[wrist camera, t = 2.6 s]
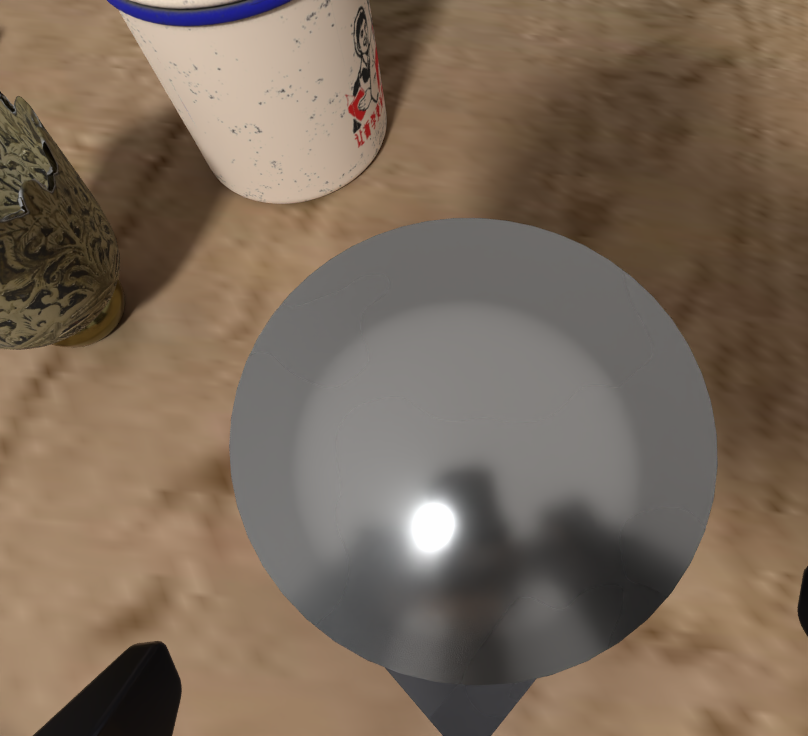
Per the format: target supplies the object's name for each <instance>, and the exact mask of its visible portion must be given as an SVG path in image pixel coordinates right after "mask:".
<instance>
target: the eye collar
mask: <svg viewBox="0 0 808 736" xmlns="http://www.w3.org/2000/svg"><path fill="white" fill-rule="evenodd" d="M385 668H386V667H385ZM386 669H387V671H388V672H389V673H390V674H391V675H392V676H393V678H394V679H395V680H396V681H397V682H398V683H399V685H400V686H401V687H402V688H403V689H404V691H405V692H406V693H407V694H408V695H409V696H410V698H411V699H412V700H413V701H414V702H415V703H416V705H417V706H418V707H419V708H420V709H421V710H422V712H423V713H424V714H425V715H426V716H427V718H428V719H429V720H430V721H431V722H432V723H433V725H434V726H435V727H436V728H437V729H438V730H439V732H440V733H441V734H442V735H443V736H491V735H492V734H493V732H494V731H495V730H496V729H497V727H498V726H499V725H500V724H501V722H502V721H503V720H504V719H505V717H506V716H507V715H508V714H509V712H510V711H511V710H512V709H513V707H514V706H515V705H516V704H517V702H518V701H519V700H520V699H521V697H522V696H523V695H524V694H525V692H526V691H527V690H528V689H529V687H530V686H531V685H532V684H533V682H534V681H535V680H536V679H537V678H536V679H531V680H526V681H522V682H517V683H510V684H494V685H479V686H474V685H462V684H451V683H439V682H434V681H430V680H426V679H421V678H417V677H413V676H409V675H405V674H401V673H398V672H396V671H393V670H391V669H388V668H386Z"/></svg>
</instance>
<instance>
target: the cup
mask: <svg viewBox="0 0 808 736" xmlns="http://www.w3.org/2000/svg"><path fill="white" fill-rule="evenodd" d="M119 270H120V256H119V250H118V245H117V241H116V238H115V235H114V232H113V230H112V228H111V226H110V224H109V222H108V220H107V218H106V217H105V215H104V213H103V211H102V210H101V208H100V206H99V205H98V203H97V201H96V200H95V198H94V197H93V195H92V194H91V192H90V191H89V189H88V188H87V187H86V185H85V184H84V182H83V181H82V179H81V178H80V177H79V175H78V174H77V172H76V171H75V169H74V168H73V167H72V165H71V164H70V162H69V161H68V160H67V158H66V157H65V155H64V154H63V153H62V151H61V150H60V148H59V147H58V146H57V144H56V143H55V141H54V140H53V139H52V137H51V136H50V135H49V133H48V132H47V130H46V129H45V128H44V126H43V125H42V123H41V122H40V120H39V119H38V117H37V115H36V114H35V112H34V111H33V109H32V108H31V106H30V105H29V104H28V103H27V102H26V101H25V100H24V99H23V98H22V97H20V96H17V97H16V99H15V103H14V106H13V105H12V104H11V103H10V102H9V100H8V99H7V98H6V97H5V96H4V95H3V94H2V93H1V92H0V349H19V350H21V349H31V348H38V347H43V346H47V345H51V344H52V345H55V346H61V347H72V348H76V347H83V346H87V345H90V344H93V343H95V342H97V341H99V340H101V339H103V338H104V337H105V336H107V335H108V334H109V333H110V332H111V331H112V330H113V329H114V328H115V327H116V325H117V324H118V323H119V321H120V319H121V317H122V315H123V312H124V307H125V297H124V292H123V289H122V286H121V283H120V281H119V280H118V277H119Z"/></svg>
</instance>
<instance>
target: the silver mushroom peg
mask: <svg viewBox="0 0 808 736" xmlns="http://www.w3.org/2000/svg"><path fill="white" fill-rule="evenodd" d="M229 448H230V463H231V477H232V482H233V487H234V492H235V497H236V502H237V507H238V510H239V512H240V515H241V518H242V521H243V524H244V527H245V530H246V532H247V535H248V538H249V540H250V542H251V544H252V545H253V547H254V549H255V551H256V553H257V555H258V557H259V559H260V561H261V563H262V565H263V567H264V568H265V569H266V571H267V572H268V574H269V575H270V577H271V578H272V579H273V581H274V582H275V584H276V585H277V586H278V588H279V589H280V591H281V592H282V593H283V595H284V596H285V597H286V598H287V599H288V600H289V601H290V602H291V603H292V604H293V605H294V606H295V607H296V608H297V609H298V610H299V612H300V613H301V614H302V615H303V616H304V617H305V618H306V619H307V620H308V621H310V622H311V623H312V624H313V625H315V626H316V627H317V628H319V629H320V630H321V631H322V632H324V633H325V634H326V635H327V636H329V637H330V638H331V639H332V640H334V641H335V642H337V643H338V644H340V645H342V646H344V647H345V648H347V649H349V650H350V651H352V652H354V653H356V654H357V655H359V656H361V657H363V658H364V659H366V660H368V661H371V662H373V663H376V664H378V665H381V666H383V667H386V668H388V669H391V670H393V671H396V672H398V673H401V674H405V675H409V676H413V677H417V678H421V679H426V680H430V681H434V682H439V683H451V684H462V685H474V686H479V685H494V684H510V683H517V682H522V681H526V680H531V679H536V678H540V677H545V676H549V675H553V674H555V673H558V672H560V671H563V670H566V669H568V668H571V667H573V666H576V665H578V664H581V663H584V662H586V661H588V660H590V659H591V658H593V657H595V656H597V655H598V654H600V653H602V652H604V651H605V650H607V649H609V648H610V647H612V646H614V645H616V644H617V643H619V642H620V641H622V640H623V639H624V638H625V637H626V636H628V635H629V634H630V633H631V632H633V631H634V630H635V629H636V628H638V627H639V626H640V625H641V624H642V623H644V622H645V621H646V620H647V619H648V618H649V617H650V616H651V615H652V614H653V613H654V612H655V610H656V609H657V608H658V607H659V606H660V605H661V604H662V603H663V602H664V600H665V599H666V598H667V597H668V596H669V595H670V594H671V593H672V591H673V590H674V588H675V586H676V585H677V583H678V582H679V580H680V579H681V577H682V576H683V574H684V573H685V571H686V570H687V568H688V566H689V565H690V563H691V561H692V559H693V557H694V555H695V552H696V550H697V548H698V546H699V543H700V541H701V539H702V537H703V534H704V532H705V529H706V525H707V522H708V518H709V514H710V511H711V507H712V503H713V499H714V492H715V483H716V475H717V434H716V428H715V422H714V416H713V411H712V405H711V401H710V397H709V394H708V391H707V388H706V385H705V382H704V379H703V376H702V373H701V370H700V368H699V366H698V364H697V362H696V360H695V358H694V356H693V354H692V352H691V349H690V347H689V345H688V344H687V342H686V340H685V339H684V337H683V336H682V334H681V333H680V331H679V330H678V328H677V326H676V325H675V323H674V322H673V320H672V319H671V318H670V317H669V315H668V314H667V313H666V312H665V311H664V309H663V308H662V307H661V306H660V305H659V303H658V302H657V301H656V300H655V299H654V297H653V296H652V295H651V294H649V293H648V292H647V291H646V290H645V289H644V288H643V287H642V286H641V285H640V284H639V283H638V282H637V281H636V280H635V279H634V278H633V277H631V276H630V275H629V274H627V273H626V272H625V271H623V270H622V269H621V268H619V267H618V266H617V265H615V264H614V263H613V262H611V261H610V260H608V259H607V258H605V257H603V256H601V255H600V254H598V253H596V252H595V251H593V250H591V249H589V248H588V247H586V246H584V245H582V244H580V243H577V242H575V241H573V240H571V239H568V238H566V237H564V236H562V235H559V234H556V233H553V232H550V231H547V230H544V229H540V228H537V227H534V226H530V225H525V224H520V223H515V222H510V221H505V220H494V219H484V218H451V219H442V220H434V221H426V222H421V223H417V224H412V225H408V226H403V227H399V228H397V229H394V230H391V231H388V232H385V233H382V234H379V235H376V236H374V237H371V238H369V239H367V240H365V241H363V242H361V243H358V244H356V245H354V246H352V247H350V248H349V249H347V250H345V251H344V252H342V253H340V254H339V255H337V256H335V257H334V258H332V259H330V260H329V261H328V262H326V263H325V264H324V265H322V266H321V267H320V268H318V269H317V270H316V271H315V272H313V273H312V274H311V275H309V276H308V277H307V278H306V279H305V280H304V281H303V282H302V283H301V284H300V285H299V286H298V287H297V288H296V289H295V290H294V291H293V292H291V293H290V294H289V296H288V297H287V298H286V299H285V300H284V302H283V303H282V304H281V305H280V307H279V308H278V309H277V310H276V311H275V313H274V314H273V315H272V317H271V318H270V320H269V321H268V323H267V324H266V326H265V328H264V329H263V331H262V332H261V334H260V335H259V337H258V339H257V341H256V343H255V345H254V347H253V349H252V351H251V353H250V355H249V357H248V359H247V361H246V364H245V367H244V370H243V373H242V376H241V379H240V382H239V385H238V388H237V392H236V397H235V402H234V407H233V412H232V417H231V430H230V445H229Z"/></svg>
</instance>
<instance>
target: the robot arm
mask: <svg viewBox="0 0 808 736" xmlns="http://www.w3.org/2000/svg"><path fill="white" fill-rule="evenodd" d="M798 617H799V621H800V623H801V626H802V628H803V630H804V631H805V633H806V635H807V636H808V566H807V568H806V569H805V570H804V573H803V578H802V584H801V590H800V596H799V602H798ZM181 692H182V688H181V680H180V677H179V675H178V672H177V670H176V668H175V665H174V663H173V661H172V658H171V656H170V653H169V651H168V649H167V647H166V645H165V644H164V643H163V642H161V641H154V642H145V643H137V644H134V645H132V646H130V647H129V648H128V649H127V650H125V651H124V652H123V653H122V654H121V655H120V656H119V657H118V658H117V659H116V660H115V661H114V662H112V663H111V664H110V665H109V666H108V667H107V668H106V669H105V670H104V671H103V672H102V673H100V674H99V675H98V676H97V677H96V678H95V679H94V680H93V681H92V682H91V683H90V684H88V685H87V686H86V687H85V688H84V689H83V690H82V691H81V692H80V693H79V694H78V695H77V696H75V697H74V698H73V699H72V700H71V701H70V702H69V703H68V704H67V705H66V706H65V707H63V708H62V709H61V710H60V711H59V712H58V713H57V714H56V715H55V716H54V717H53V718H51V719H50V720H49V721H48V722H47V723H46V724H45V725H44V726H43V727H42V728H41V729H40V730H38V731H37V732H36V733H35V734H34V735H33V736H172V734H173V730H174V726H175V721H176V717H177V713H178V708H179V704H180V699H181Z"/></svg>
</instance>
